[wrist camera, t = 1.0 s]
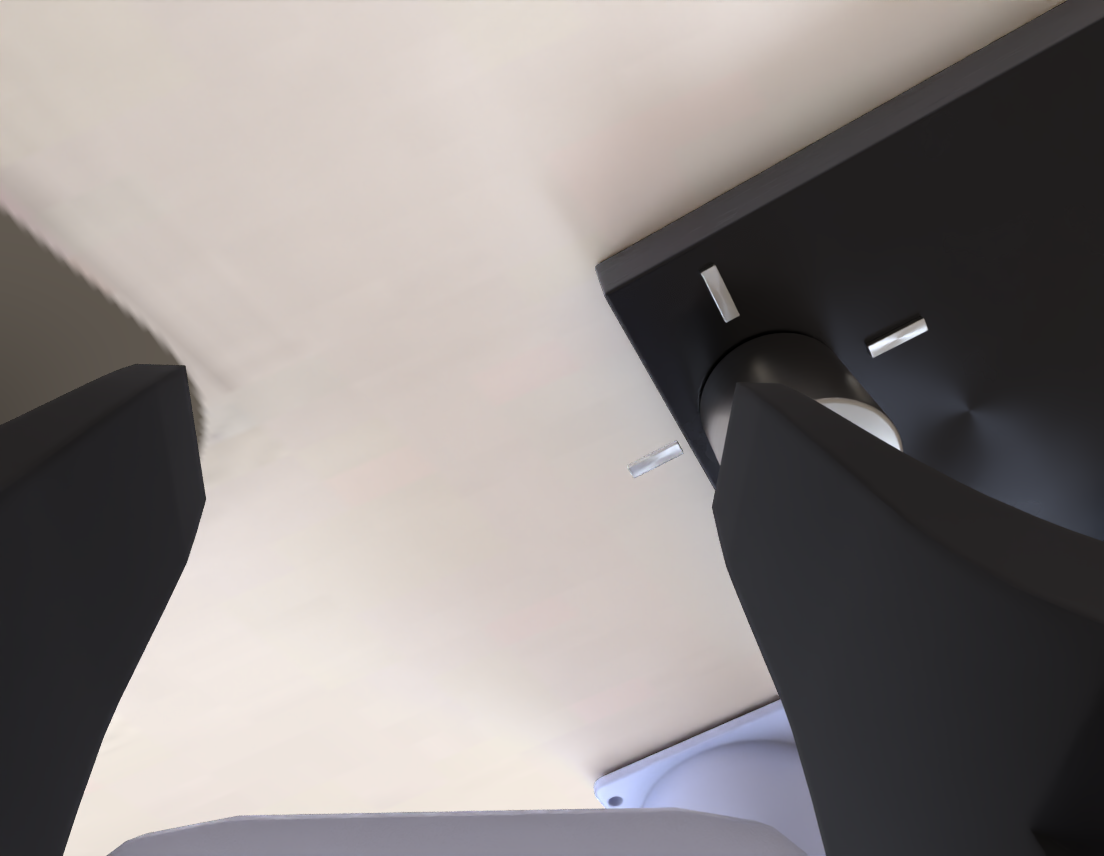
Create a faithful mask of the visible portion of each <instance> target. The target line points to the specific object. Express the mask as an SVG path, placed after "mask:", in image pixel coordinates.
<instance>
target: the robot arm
mask: <svg viewBox="0 0 1104 856" xmlns="http://www.w3.org/2000/svg"><path fill="white" fill-rule="evenodd" d="M205 501H206V496H205V489H204V483H203V476H202V470H201V464H200V457H199V451H198V444H197V438H196V431H195V425H194V418H193V412H192V405H191V399H190V392H189V386H188V379H187V373H186V366H185V365H151V364H134V365H131V366H128V367H125V368H122V369H119V370H117V371H114V372H112V373H109V374H107V375H105V376H102V377H100V378H98V379H96V380H94V381H92V382H89V383H87V384H85V385H83V386H81V387H79V388H77V389H75V390H73V391H71V392H68V393H66V394H64V395H62V396H60V397H58V398H56V399H54V400H52V401H50V402H48V403H46V404H44V405H41V406H39V407H37V408H35V409H33V410H31V411H29V412H27V413H25V414H23V415H21V416H19V417H17V418H15V419H12V420H10V421H8V422H6V423H4V424H2V425H0V856H63V853H64V850H65V847H66V844H67V841H68V838H69V835H70V832H71V829H72V826H73V823H74V820H75V817H76V814H77V811H78V808H79V805H80V802H81V799H82V797H83V794H84V791H85V788H86V785H87V783H88V780H89V777H90V774H91V771H92V768H93V766H94V763H95V760H96V757H97V754H98V752H99V749H100V746H101V743H102V740H103V738H104V735H105V733H106V731H107V728H108V726H109V724H110V721H111V719H112V717H113V714H114V712H115V710H116V708H117V705H118V703H119V701H120V699H121V697H122V695H123V693H124V691H125V689H126V687H127V685H128V683H129V681H130V679H131V677H132V675H133V672H134V670H135V668H136V666H137V664H138V662H139V660H140V658H141V656H142V654H143V652H144V650H145V648H146V646H147V644H148V642H149V640H150V638H151V636H152V634H153V632H154V630H155V628H156V626H157V624H158V622H159V620H160V618H161V616H162V614H163V612H164V610H165V607H166V605H167V603H168V601H169V599H170V597H171V595H172V593H173V591H174V589H175V587H176V585H177V582H178V580H179V578H180V576H181V574H182V572H183V570H184V567H185V565H186V563H187V561H188V557H189V554H190V551H191V548H192V545H193V542H194V539H195V536H196V533H197V529H198V526H199V522H200V519H201V515H202V512H203V508H204V505H205ZM712 509H713V514H714V518H715V523H716V527H717V531H718V536H719V540H720V544H721V548H722V552H723V556H724V560H725V564H726V567H727V570H728V572H729V575H730V578H731V580H732V583H733V585H734V588H735V590H736V593H737V595H738V598H739V600H740V602H741V605H742V607H743V610H744V612H745V615H746V617H747V620H748V622H749V624H750V627H751V629H752V632H753V634H754V636H755V639H756V641H757V644H758V646H759V649H760V651H761V653H762V656H763V658H764V661H765V663H766V665H767V668H768V670H769V673H770V675H771V677H772V680H773V682H774V685H775V687H776V689H777V692H778V694H779V697H780V700H777V701H775V702H773V703H771V704H768V705H766V706H764V707H761V708H759V709H757V710H754V711H752V712H750V713H748V714H745V715H743V716H741V717H738V718H736V719H734V720H731V721H729V722H727V723H725V724H722V725H720V726H718V727H715V728H713V729H711V730H708V731H706V732H704V733H701V734H699V735H697V736H695V737H692V738H690V739H688V740H685V741H683V742H681V743H678V744H676V745H674V746H672V747H669V748H667V749H665V750H662V751H660V752H658V753H655V754H653V755H651V756H649V757H646V758H644V759H642V760H639V761H637V762H635V763H632V764H630V765H628V766H625V767H623V768H621V769H619V770H616V771H614V772H612V773H609V774H607V775H605V776H602V777H601V778H599V779H598V780H597V781H596V782H595V783H594V792H595V796H596V798H597V799H598V800H599V801H600V802H601V804H602V805H603V806H604V807H605V808H606V809H558V810H506V811H454V812H402V813H351V814H299V815H247V816H234V817H229V818H224V819H219V820H214V821H208V822H203V823H198V824H193V825H188V826H183V827H177V828H172V829H167V830H162V831H157V832H151V833H147V834H144V835H141V836H138V837H136V838H133V839H130V840H127V841H126V842H124V843H123V844H122V845H120V846H119V847H118V848H116V849H115V850H114V851H112V852H111V853H110V854H108V855H107V856H1104V541H1101V540H1098V539H1095V538H1092V537H1089V536H1087V535H1084V534H1081V533H1078V532H1075V531H1072V530H1069V529H1067V528H1064V527H1062V526H1059V525H1056V524H1054V523H1051V522H1049V521H1046V520H1044V519H1041V518H1039V517H1036V516H1034V515H1031V514H1029V513H1027V512H1025V511H1022V510H1020V509H1018V508H1015V507H1013V506H1011V505H1008V504H1006V503H1004V502H1001V501H999V500H997V499H994V498H992V497H990V496H988V495H985V494H983V493H981V492H979V491H977V490H975V489H973V488H971V487H968V486H966V485H964V484H962V483H960V482H958V481H956V480H954V479H953V478H951V477H949V476H947V475H945V474H943V473H941V472H939V471H937V470H935V469H933V468H932V467H930V466H928V465H926V464H924V463H922V462H920V461H918V460H916V459H915V458H913V457H911V456H909V455H907V454H906V453H904V452H902V451H900V450H898V449H897V448H895V447H893V446H892V445H890V444H888V443H886V442H885V441H883V440H881V439H879V438H878V437H876V436H874V435H873V434H871V433H869V432H868V431H866V430H864V429H862V428H861V427H859V426H857V425H856V424H854V423H852V422H851V421H849V420H847V419H846V418H844V417H842V416H841V415H839V414H837V413H836V412H834V411H832V410H831V409H829V408H827V407H826V406H824V405H822V404H820V403H819V402H817V401H815V400H813V399H812V398H810V397H808V396H806V395H804V394H803V393H801V392H799V391H797V390H795V389H793V388H791V387H788V386H786V385H783V384H780V383H751V382H736V387H735V392H734V397H733V402H732V407H731V412H730V418H729V423H728V428H727V433H726V438H725V443H724V448H723V454H722V459H721V464H720V469H719V474H718V479H717V484H716V490H715V495H714V500H713V505H712Z"/></svg>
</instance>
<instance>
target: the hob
mask: <svg viewBox="0 0 1104 856" xmlns="http://www.w3.org/2000/svg"><path fill="white" fill-rule="evenodd" d="M595 270H596V273H597V276H598V279H599V282H600V285H601V288H602V290H603V293H604V296H605V298H606V300H607V302H608V304H609V305H610V307H611V309H612V311H613V312H614V314H615V316H616V318H617V319H618V321H619V323H620V325H621V326H622V328H623V330H624V332H625V333H626V335H627V337H628V339H629V340H630V342H631V344H632V346H633V347H634V349H635V351H636V353H637V354H638V356H639V358H640V360H641V361H642V363H643V365H644V367H645V368H646V370H647V372H648V374H649V375H650V377H651V379H652V381H653V382H654V384H655V386H656V388H657V389H658V391H659V393H660V395H661V396H662V398H663V400H664V402H665V403H666V405H667V407H668V409H669V410H670V412H671V414H672V416H673V417H674V419H675V421H676V423H677V424H678V426H679V428H680V430H681V431H682V433H683V435H684V437H685V438H686V440H687V442H688V444H689V445H690V447H691V449H692V451H693V452H694V454H695V456H696V458H697V459H698V461H699V463H700V465H701V466H702V468H703V470H704V472H705V473H706V475H707V477H708V479H709V481H710V482H711V484H712V486H713V488H714V489H715V490H716V484H717V479H718V474H719V469H720V464H719V462H718V460H717V458H716V455H715V453H714V451H713V449H712V447H711V444H710V442H709V440H708V438H707V436H706V433H705V431H704V429H703V426H702V422H701V417H700V402H701V396H702V392H703V389H704V386H705V384H706V382H707V380H708V378H709V376H710V374H711V373H712V371H713V370H714V368H715V367H716V366H717V365H718V363H719V362H720V361H721V360H722V359H723V358H724V357H725V356H726V355H727V354H729V353H730V352H731V351H733V350H734V349H735V348H737V347H738V346H740V345H742V344H743V343H745V342H748V341H750V340H752V339H754V338H757V337H761V336H764V335H769V334H775V333H795V334H801V335H805V336H808V337H811V338H814V339H816V340H818V341H820V342H821V343H823V344H824V345H826V346H827V347H828V348H829V349H831V350H832V351H833V352H834V353H835V355H836V356H837V357H838V358H839V359H840V361H841V362H842V363H843V364H844V365H845V366H846V368H847V369H848V370H849V371H850V372H851V373H852V375H853V376H854V377H855V378H856V379H857V381H858V382H859V383H860V384H861V385H862V386H863V388H864V389H865V390H866V391H867V392H868V394H869V395H870V396H871V397H872V398H873V399H874V401H875V402H876V403H877V404H878V405H879V406H880V408H881V409H882V410H883V411H884V412H885V414H886V415H887V416H888V417H889V418H890V420H891V421H892V422H893V424H894V425H895V426H896V428H897V430H898V432H899V434H900V438H901V441H902V446H903V452H904V453H906V454H907V455H909V456H911V457H913V458H915V459H916V460H918V461H920V462H922V463H924V464H926V465H928V466H930V467H932V468H933V469H935V470H937V471H939V472H941V473H943V474H945V475H947V476H949V477H951V478H953V479H954V480H956V481H958V482H960V483H962V484H964V485H966V486H968V487H971V488H973V489H975V490H977V491H979V492H981V493H983V494H985V495H988V496H990V497H992V498H994V499H997V500H999V501H1001V502H1004V503H1006V504H1008V505H1011V506H1013V507H1015V508H1018V509H1020V510H1022V511H1025V512H1027V513H1029V514H1031V515H1034V516H1036V517H1039V518H1041V519H1044V520H1046V521H1049V522H1051V523H1054V524H1056V525H1059V526H1062V527H1064V528H1067V529H1069V530H1072V531H1075V532H1078V533H1081V534H1084V535H1087V536H1089V537H1092V538H1095V539H1098V540H1101V541H1104V0H1068V1H1066V2H1064V3H1062V4H1060V5H1059V6H1057V7H1055V8H1053V9H1052V10H1050V11H1048V12H1046V13H1044V14H1043V15H1041V16H1039V17H1037V18H1035V19H1034V20H1032V21H1030V22H1028V23H1027V24H1025V25H1023V26H1021V27H1019V28H1018V29H1016V30H1014V31H1012V32H1011V33H1009V34H1007V35H1005V36H1003V37H1002V38H1000V39H998V40H996V41H995V42H993V43H991V44H989V45H987V46H986V47H984V48H982V49H980V50H979V51H977V52H975V53H973V54H971V55H970V56H968V57H966V58H964V59H963V60H961V61H959V62H957V63H955V64H954V65H952V66H950V67H948V68H947V69H945V70H943V71H941V72H939V73H938V74H936V75H934V76H932V77H931V78H929V79H927V80H925V81H923V82H922V83H920V84H918V85H916V86H915V87H913V88H911V89H909V90H907V91H906V92H904V93H902V94H900V95H898V96H897V97H895V98H893V99H891V100H890V101H888V102H886V103H884V104H882V105H881V106H879V107H877V108H875V109H874V110H872V111H870V112H868V113H866V114H865V115H863V116H861V117H859V118H858V119H856V120H854V121H852V122H850V123H849V124H847V125H845V126H843V127H842V128H840V129H838V130H836V131H834V132H833V133H831V134H829V135H827V136H826V137H824V138H822V139H820V140H818V141H817V142H815V143H813V144H811V145H810V146H808V147H806V148H804V149H802V150H801V151H799V152H797V153H795V154H794V155H792V156H790V157H788V158H786V159H785V160H783V161H781V162H779V163H778V164H776V165H774V166H772V167H770V168H769V169H767V170H765V171H763V172H761V173H760V174H758V175H756V176H754V177H753V178H751V179H749V180H747V181H745V182H744V183H742V184H740V185H738V186H737V187H735V188H733V189H731V190H729V191H728V192H726V193H724V194H722V195H721V196H719V197H717V198H715V199H713V200H712V201H710V202H708V203H706V204H705V205H703V206H701V207H699V208H697V209H696V210H694V211H692V212H690V213H689V214H687V215H685V216H683V217H681V218H680V219H678V220H676V221H674V222H673V223H671V224H669V225H667V226H665V227H664V228H662V229H660V230H658V231H657V232H655V233H653V234H651V235H649V236H648V237H646V238H644V239H642V240H641V241H639V242H637V243H635V244H633V245H632V246H630V247H628V248H626V249H624V250H623V251H621V252H619V253H617V254H616V255H614V256H612V257H610V258H608V259H607V260H605V261H603V262H601V263H600V264H598V265H597V266H596V267H595ZM682 454H683V450H682V448H681V447H680V445H679V443H678V441H677V440H676V441H674V442H672V443H670V444H668V445H666V446H664V447H662V448H660V449H658V450H656V451H654V452H652V453H650V454H648V455H646V456H644V457H643V458H641V459H639V460H637V461H635V462H633V463H631V464H629V465H627V467H628V470H629V471H630V473H631V474H632V476H633V478H636V477H638V476H640V475H642V474H644V473H646V472H648V471H650V470H652V469H654V468H656V467H658V466H660V465H662V464H664V463H666V462H668V461H670V460H672V459H674V458H676V457H678V456H680V455H682Z"/></svg>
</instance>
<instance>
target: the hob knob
mask: <svg viewBox="0 0 1104 856" xmlns="http://www.w3.org/2000/svg"><path fill="white" fill-rule="evenodd" d="M736 382H751V383H780V384H783V385H786V386H788V387H791V388H793V389H795V390H797V391H799V392H801V393H803V394H804V395H806V396H808V397H810V398H812V399H813V400H815V401H817V402H819V403H820V404H822V405H824V406H826V407H827V408H829V409H831V410H832V411H834V412H836V413H837V414H839V415H841V416H842V417H844V418H846V419H847V420H849V421H851V422H852V423H854V424H856V425H857V426H859V427H861V428H862V429H864V430H866V431H868V432H869V433H871V434H873V435H874V436H876V437H878V438H879V439H881V440H883V441H885V442H886V443H888V444H890V445H892V446H893V447H895V448H897V449H898V450H900V451H902V452H903V446H902V441H901V438H900V434H899V432H898V430H897V428H896V426H895V425H894V424H893V422H892V421H891V420H890V418H889V417H888V416H887V415H886V414H885V412H884V411H883V410H882V409H881V408H880V406H879V405H878V404H877V403H876V402H875V401H874V399H873V398H872V397H871V396H870V395H869V394H868V392H867V391H866V390H865V389H864V388H863V386H862V385H861V384H860V383H859V382H858V381H857V379H856V378H855V377H854V376H853V375H852V373H851V372H850V371H849V370H848V369H847V368H846V366H845V365H844V364H843V363H842V362H841V361H840V359H839V358H838V357H837V356H836V355H835V353H834V352H833V351H832V350H831V349H829V348H828V347H827V346H826V345H824V344H823V343H821V342H820V341H818V340H816V339H814V338H811V337H808V336H805V335H801V334H795V333H775V334H769V335H764V336H761V337H757V338H754V339H752V340H750V341H748V342H745V343H743V344H742V345H740V346H738V347H737V348H735V349H734V350H733V351H731V352H730V353H729V354H727V355H726V356H725V357H724V358H723V359H722V360H721V361H720V362H719V363H718V365H717V366H716V367H715V368H714V370H713V371H712V373H711V374H710V376H709V378H708V380H707V382H706V384H705V386H704V389H703V392H702V396H701V402H700V417H701V422H702V426H703V429H704V431H705V433H706V436H707V438H708V440H709V442H710V444H711V447H712V449H713V451H714V453H715V455H716V458H717V460H718V462H719V464H721V459H722V454H723V448H724V443H725V438H726V433H727V428H728V423H729V418H730V412H731V407H732V402H733V397H734V392H735V387H736Z"/></svg>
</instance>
